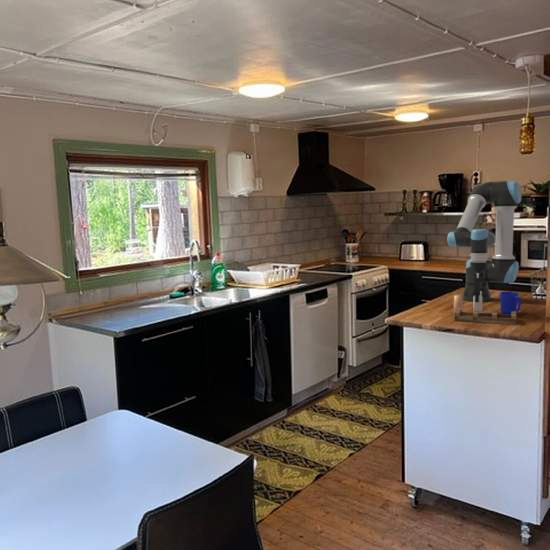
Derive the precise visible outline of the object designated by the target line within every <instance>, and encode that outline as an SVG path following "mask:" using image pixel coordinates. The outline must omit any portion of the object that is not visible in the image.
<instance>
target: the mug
mask: <svg viewBox="0 0 550 550" xmlns="http://www.w3.org/2000/svg"><path fill="white" fill-rule="evenodd" d="M499 297H500V299H499V300H500V312H501V314H511V311H515V312H516V313H518V312H519V311H520V309H521V306H522V305H521V304H522V297H521V296H519V293H518V292H517V291H516V292H514V291H501V292H500V293H499Z"/></svg>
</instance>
